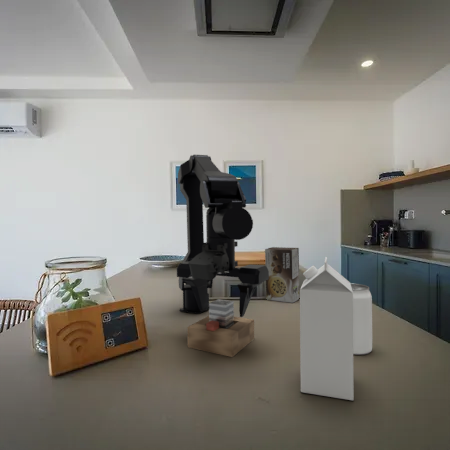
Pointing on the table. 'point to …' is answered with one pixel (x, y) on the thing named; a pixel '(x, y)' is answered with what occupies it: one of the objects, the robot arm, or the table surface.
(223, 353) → the tan stand block
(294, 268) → the coffee box
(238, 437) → the table surface
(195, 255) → the robot arm
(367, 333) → the can
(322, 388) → the milk carton
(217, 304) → the ratchet post
